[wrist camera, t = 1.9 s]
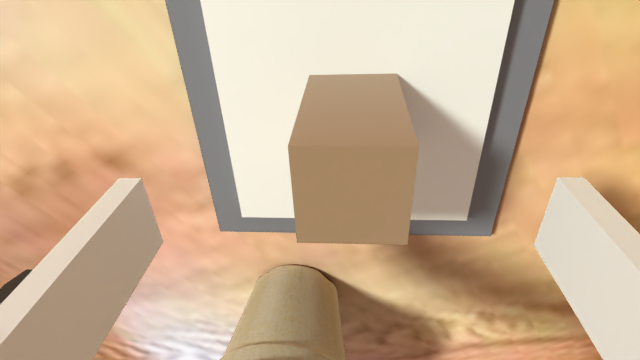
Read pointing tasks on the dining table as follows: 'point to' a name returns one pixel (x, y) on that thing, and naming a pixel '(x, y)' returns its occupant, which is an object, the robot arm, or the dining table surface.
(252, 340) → the flower pot
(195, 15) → the mat
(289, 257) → the dining table surface
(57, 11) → the dining table surface
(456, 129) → the lid
